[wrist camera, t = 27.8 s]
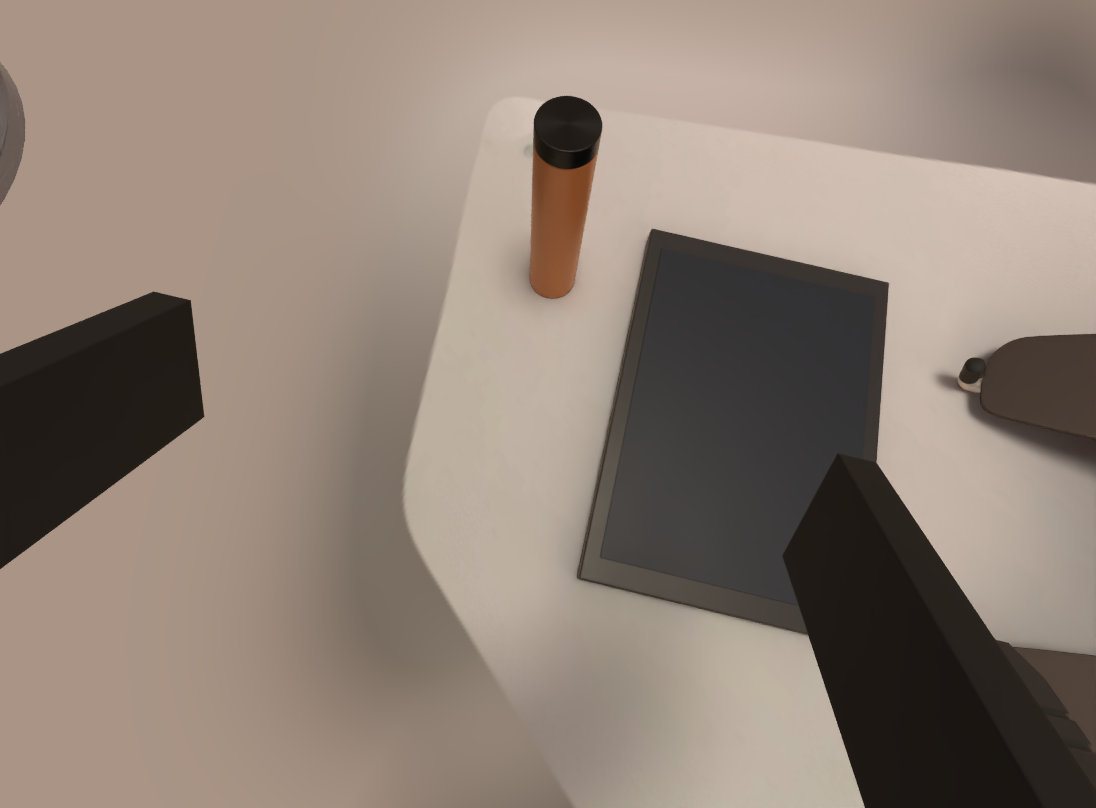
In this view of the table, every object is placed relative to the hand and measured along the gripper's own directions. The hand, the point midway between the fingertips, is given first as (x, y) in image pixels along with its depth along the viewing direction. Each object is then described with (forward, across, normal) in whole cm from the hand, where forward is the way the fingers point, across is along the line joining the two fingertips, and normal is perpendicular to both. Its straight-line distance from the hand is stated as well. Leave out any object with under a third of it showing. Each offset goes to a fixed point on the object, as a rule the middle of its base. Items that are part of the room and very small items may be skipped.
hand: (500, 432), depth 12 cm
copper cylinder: (+23, -1, -3) cm, 23 cm away
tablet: (+18, +11, -8) cm, 23 cm away
